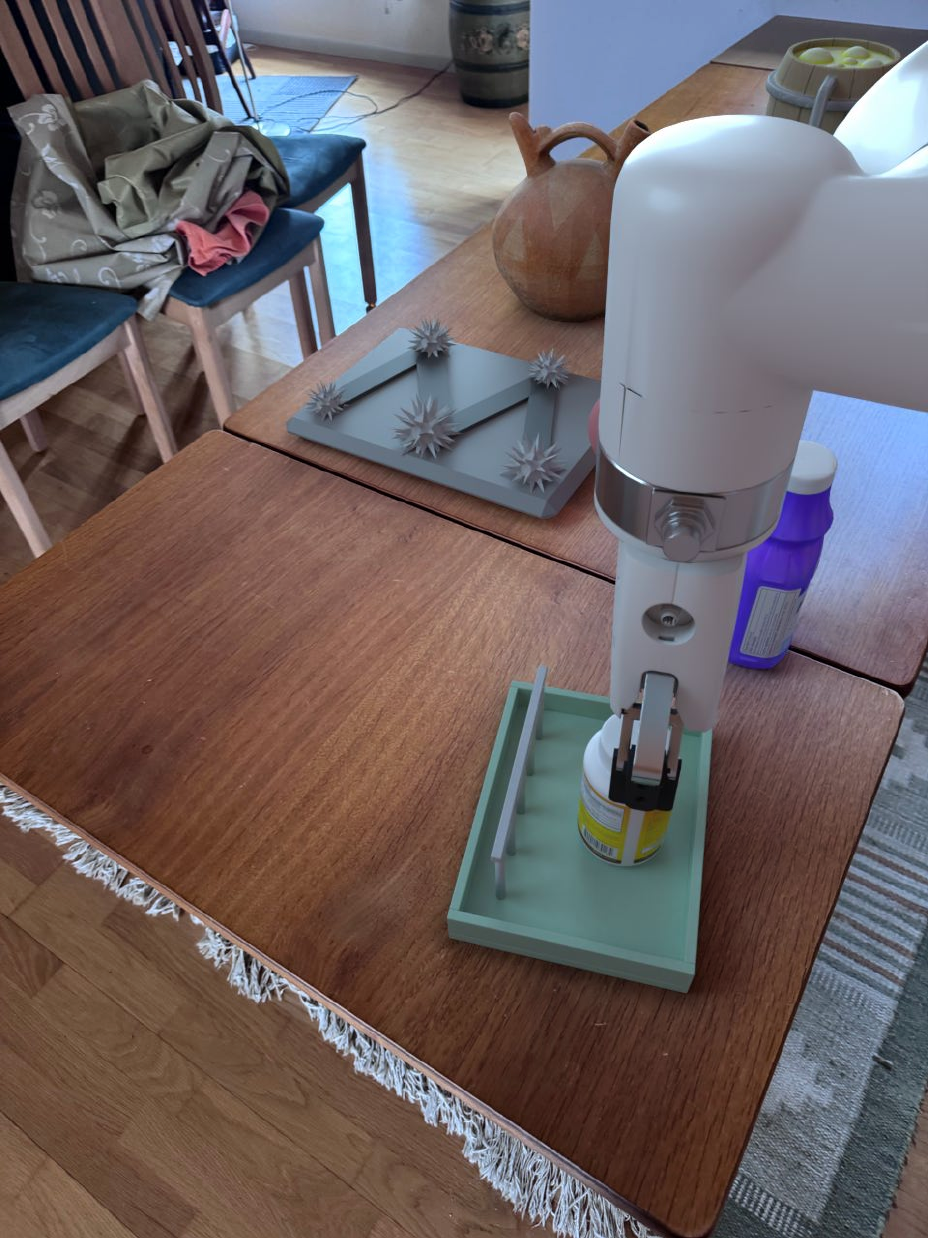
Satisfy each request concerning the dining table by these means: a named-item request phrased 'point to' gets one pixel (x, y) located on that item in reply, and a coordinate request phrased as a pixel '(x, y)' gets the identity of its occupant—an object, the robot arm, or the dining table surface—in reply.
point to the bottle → (785, 562)
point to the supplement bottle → (615, 806)
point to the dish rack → (577, 852)
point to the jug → (561, 220)
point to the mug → (826, 79)
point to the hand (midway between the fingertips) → (650, 725)
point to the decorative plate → (461, 419)
